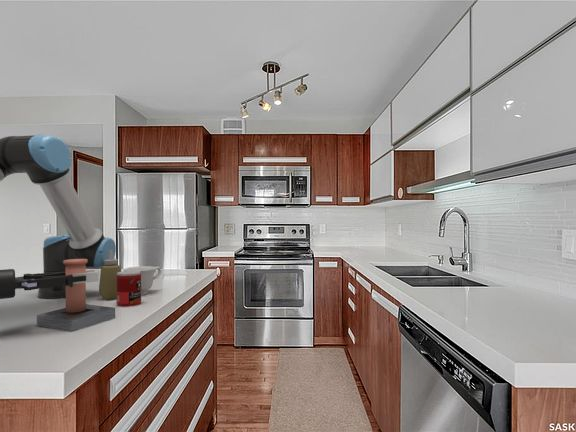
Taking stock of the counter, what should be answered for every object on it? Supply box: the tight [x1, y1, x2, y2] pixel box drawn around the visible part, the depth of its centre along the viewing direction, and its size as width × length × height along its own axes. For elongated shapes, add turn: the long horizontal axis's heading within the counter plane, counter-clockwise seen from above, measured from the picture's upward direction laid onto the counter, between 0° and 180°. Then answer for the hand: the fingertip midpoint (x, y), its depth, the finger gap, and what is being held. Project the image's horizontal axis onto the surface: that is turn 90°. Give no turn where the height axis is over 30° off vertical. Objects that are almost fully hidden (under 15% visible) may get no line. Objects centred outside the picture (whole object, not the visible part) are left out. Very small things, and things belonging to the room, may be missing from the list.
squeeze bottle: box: [98, 250, 122, 301], centre depth 136 cm, size 8×8×18 cm
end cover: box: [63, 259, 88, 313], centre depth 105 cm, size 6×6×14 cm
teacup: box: [122, 265, 162, 296], centre depth 145 cm, size 12×15×10 cm
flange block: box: [36, 304, 116, 332], centre depth 106 cm, size 14×14×3 cm
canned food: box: [116, 270, 142, 307], centre depth 127 cm, size 8×8×11 cm
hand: (95, 275), depth 109 cm, fingers closed on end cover, 5 cm apart
